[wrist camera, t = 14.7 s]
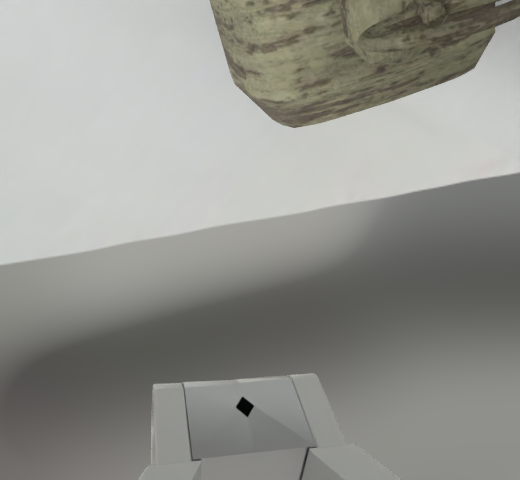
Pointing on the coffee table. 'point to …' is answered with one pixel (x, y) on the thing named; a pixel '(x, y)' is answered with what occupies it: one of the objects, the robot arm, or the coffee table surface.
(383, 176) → the coffee table surface
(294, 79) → the tabletop clock
